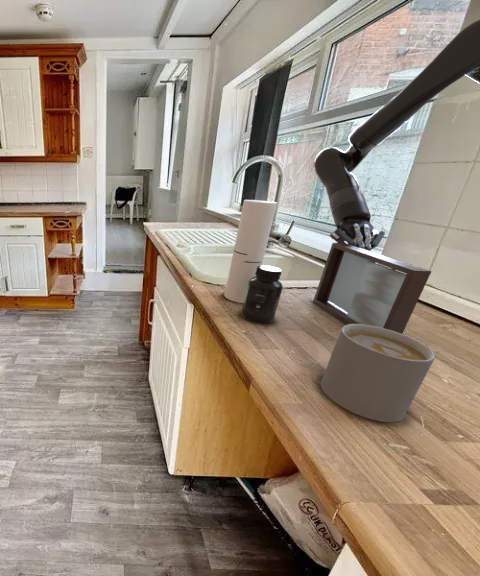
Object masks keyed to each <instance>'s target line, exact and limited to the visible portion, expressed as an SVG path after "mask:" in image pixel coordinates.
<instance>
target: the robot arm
mask: <svg viewBox="0 0 480 576" xmlns="http://www.w3.org/2000/svg"><path fill="white" fill-rule="evenodd" d="M465 76H466V77H467V78H470V79H471V80H473V81H475V82H477V83H478V84H480V19H477V20H475V21H473V22H471V23H470V24H467V26H465V27H464V28H462V29H461V30H460V31H459V33H457V34H456V35H455V36H454V37H453V38H452V40H450V41H449V43H448V44H447V45H445V47H444V48H443V49H442V50H441V51H440V52H438V54H437V55H436V57H434V59H432V60H431V62H430V63H428V65H427V66H426V67H424V69H423V70H422V71H421V72H420V73H419V74H418V75H416V77H414V78H413V79H412V80H411V81H410V82H409V83H408V84H407V85H406V86H405V87H403V88H402V90H400V91H399V92H398V93H397V94H396V95H394V97H392V98H391V99H390V100H388V101H387V102H386V103H384V104H383V105H382V106H381V107H380V108H379V109H378V110H377V111H375V112H374V113H373V114H372V115H370V116H369V117H368V118H367V119H366V120H365V121H364V122H363V123H361V124H360V125H359V126H358V127H356V128H355V129H354V130H353V131H352V132H351V133H350V134H349V135H348V142H349V144H350V146H349V148H348V149H347V150H346V151H343V150H342V149H339V148H337V147H326V148H324V149H322V150H321V151H320V152H319V153H318V154H317V155H316V157H315V159H314V162H313V168H314V171H315V173H316V175H317V177H318V179H319V180H320V182H321V184H322V185H323V187H324V188H325V190H326V195H327V198H328V201H329V208H330V213H331V215H332V216H331V217H332V219H333V222H334V225H335V227H336V229H334V230H333V232H331V233H330V234H329V237H330V238H331V239H332V240H334V241H335V243H346V244H349V245H352V246H355V247H358V248H362V249H365V250H368V251H371V252H372V250H373V249H375V248H376V247H378V246H379V244H380V243H381V241H382V240H383V238H384V236H385V235H386V233H385V231H383V230H380V231H377V230H376V229H374V228H375V227H374V225H373V223H371V217H372V215H371V212H370V210H369V207H368V204H367V201H366V197H365V195H364V193H363V192H362V190H361V188H360V185H359V182H358V180H357V177H356V176H355V175H354V173H352V172H353V171H354V170H355V169H356V168H357V167H358V166H359V165H360V164H361V163H362V161H364V159H365V158H366V157H367V156H368V155H369V153H370V152H371V151H373V149H374V148H376V147H377V146H378V145H380V144H381V143H382V142H384V141H385V140H386V139H388V138H389V137H390V136H392V134H394V133H396V131H398V130H399V129H400V128H401V127H402V126H403V125H405V123H407V122H408V121H410V119H411V118H412V117H413V116H414V115H416V113H417V112H418V111H420V110H421V109H422V108H423V107H424V106H425V105H426V104H427V103H428V102H430V101H431V100H432V99H433V98H435V97H436V96H437V95H438V94H440V93H441V92H442V91H444V90H445V89H447V88H448V87H450V86H451V85H453V84H454V83H456V82H457V81H459V80H460V79H462V78H463V77H465Z"/></svg>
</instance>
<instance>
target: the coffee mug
mask: <svg viewBox="0 0 480 576" xmlns="http://www.w3.org/2000/svg"><path fill="white" fill-rule="evenodd" d="M435 359H436V354H435V353H434V351H433V350H432V349H431V348H430V347H429V346H427V344H424V343H422V342H421V341H418V340H417V339H415V338H413V337H411V336H408V335H407V334H406V335H405V334H404V333H403V334H400V333H398V332H395V331H392V330H388V329H384V328H381V327H376V326H371V325H364V324H348V325H347V324H345V325H343V326H342V327H341V329H340V331H339V334H338V336H337V339H336V341H335V344H334V346H333V349H332V352H331V355H330V357H329V360H328V362H327V364H326V367H325V370H324V373H323V375H322V378H321V381H320V387H321V390H322V391H323V393H324V394H325V395H326V396H327V397H328V398H329V399H330V400H331V401H332V402H334V403H336V404H337V405H338V406H340V407H341V408H343V409H345V410H347V411H349V412H350V413H353V414H354V415H358V416H360V417H363V418H365V419H369V420H371V421H376V422H382V423H398V422H400V421H402V420H403V419H404V417H405V416H406V414H407V412H408V410H409V408H410V406H411V405H412V403H413V401H414V400H415V396H416V395H417V393H418V391H419V389H420V387H421V385H422V383H423V381H424V379H425V378H426V376H427V374H428V372H429V371H430V368H431V366H432V364H433V363H434V361H435Z"/></svg>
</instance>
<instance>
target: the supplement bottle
mask: <svg viewBox="0 0 480 576" xmlns="http://www.w3.org/2000/svg"><path fill="white" fill-rule="evenodd" d="M282 272H283V270H282V269H281V268H280V267H276V266H273V265H265V264H262V265H260V266H257V270H256V273H255V275H256V276H255V277H252V278H251V279H250V280H249V282H248V286H247V290H246V294H245V298H244V303H242V308H241V316H242V317H243V318H244V319H246V320H247V321H250V322H253V323H255V324H264V325H265V324H270V323H272V322H273V321H274V319H275V317H276V313H277V309H278V307H279V303H280V299H281V296H282V292H283V288H284V285H283V284H282V282H281V281H280V280H281V277H282Z"/></svg>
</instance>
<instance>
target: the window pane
mask: <svg viewBox="0 0 480 576" xmlns="http://www.w3.org/2000/svg"><path fill="white" fill-rule="evenodd" d="M368 261H370V260H367V259H364V258H362V257H359V256H356V255H353V254H351V253H348V252H345V251H342V253H341V256H340V259H339V262H338V265H337V268H336V271H335V274H334V277H333V279H332V282H331V285H330V288H329V291H328V294H327V297H326V299H327V300H328V301H330V302H332V303H333V304H335V305H336V306H338V307H340V308H341V309H343V310H345V311H346V312H349V309H350V306H351V304H352V301H353V298H354V296H355V293H356V291H357V288H358V285H359V283H360V280H361V277H362V275H363V272H364V270H365V267H366V264H367V262H368ZM371 262H373V261H371ZM374 263H376V262H374ZM386 267H387V266H386ZM387 268H389V267H387ZM390 269H392V268H390ZM393 270H395V269H393Z"/></svg>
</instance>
